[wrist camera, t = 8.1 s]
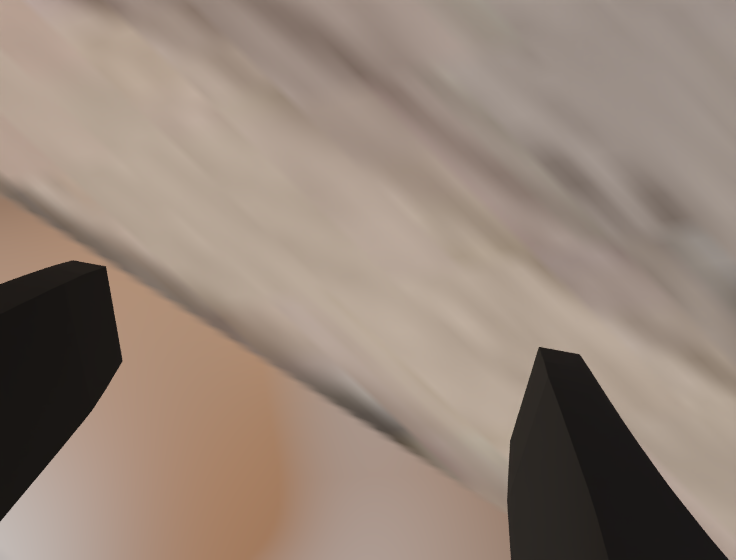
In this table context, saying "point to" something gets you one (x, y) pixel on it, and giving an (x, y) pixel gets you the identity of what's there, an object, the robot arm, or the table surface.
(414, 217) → the table surface
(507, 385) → the table surface
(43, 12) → the table surface
